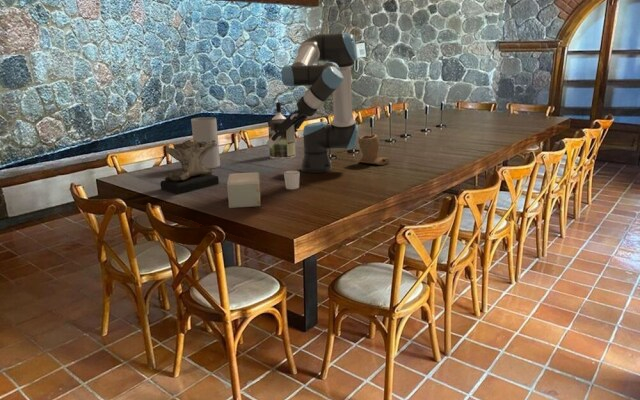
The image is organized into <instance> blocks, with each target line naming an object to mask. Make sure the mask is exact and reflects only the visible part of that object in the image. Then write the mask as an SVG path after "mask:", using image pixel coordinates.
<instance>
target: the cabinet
mask: <svg viewBox="0 0 640 400" xmlns="http://www.w3.org/2000/svg"><path fill="white" fill-rule="evenodd" d="M226 185H227V198H228V208H229V209H234V208H249V207H250V208H251V207H261V186H260V172H257V171H256V172H242V173H241V172H240V173H229V175H228V178H227V183H226Z"/></svg>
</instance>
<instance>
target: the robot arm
mask: <svg viewBox="0 0 640 400" xmlns="http://www.w3.org/2000/svg"><path fill="white" fill-rule="evenodd" d="M297 53H298V54H297V55H296V56H295V59H294V61H293V62H292V65H283V67H282V68H281V73H280V74H281V82H282V85H283V86H287V87H299V86H300V87H304V86H308V87H309V86H310V87H309V88H308V89H307V90H306V92H305V93H304V94H303V96H301V97H300V98H299V100H298V101H297V103H296V107H297V110H294V111H293V112H291V113H290V114H289V115H288V116H287V117H286V119H285V120H284V121H283V122H282V123H281V124H280V125H279V126H278V127H277V128H276V129H274V132H275V133H274V134H273V135H272V136H271V138H270V139H269V138H268V140H267V141H266V142H265V143H266V145H267V146H268V147H269V149H270V148H272V147H273V145H274V144H275V143H276V142H277V141H278V140H279V139H280V137H281V135H282V134H283V133H284V132H285V131H287V130H288V129H289V128H290V127H291V126H292V125H294V132H295V133H297V132H298V129H300V128H301V126H302V125H303V123H304V122H305V121H306V120H307V118H308V117H311V118H312V117H313V116H314V115H315V114H316V112H317V111H318V109H320V108H321V107H324V103H325V102H326V101H327V100H328V99H329V98H330V97H331V95H332V101H333V102H332V103H333V104H332V105H333V119H332V120H331V121H330V124H328V122H327V121H316V122H311V123H308V124H306V125H304V127H303V134H302V136H303V158H302V162H301V165H300V167H301V168H300V169H301V172H302V173H303V172H304V173H308V174H321V173H328V172H330V171H332V169H333V168H332V162H331V159H330V157H329V153H328V150H351V149H355V148H356V145H357V143H358V142H357V141H358V133H359V125H358V124H356V121H355V119H354V118H353V108H352V103H353V102H352V76H351V75H352V72H351V71H352V67H353V66H354V65H355V62H356V61H357V60H358V54H357V53H358V51H357V44H356V39H355V36H354V35H353V34H352V33H344V32H341V33H325V34H324V33H320V34H315V35H313V36H310V37H309V38H307V39H305V40H304V41H302V43H301V44H300V45H299V47H298V51H297ZM316 62H326V63H324V64H315V63H316ZM314 64H315V65H314Z"/></svg>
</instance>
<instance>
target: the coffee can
mask: <svg viewBox="0 0 640 400" xmlns="http://www.w3.org/2000/svg"><path fill="white" fill-rule="evenodd" d="M284 120H285V119H276V120H272V119H270V120H268V121H267V125H268V126H267V129H268V140H269V139H270V138H271V136H272V135H273V134H274V133H275V132H274V129H276V128H277V127H278V126H279V125H280V124H281V123H282V122H283V121H284ZM295 133H296V132H295V131H294V125H292V126H291V127H290V128H289V129H288V130H287V131H285V132H284V133H283V134H282V135H281V137H280V139H279V140H278V141H277V142H276V143H275V144H274V145H273V147H272V148H270V147H269V158H270V159H273V160H289V159H293V158H295V157H296V140H295V139H296V138H295V137H296V136H295V135H296V134H295Z"/></svg>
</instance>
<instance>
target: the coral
mask: <svg viewBox="0 0 640 400" xmlns="http://www.w3.org/2000/svg"><path fill="white" fill-rule="evenodd" d="M183 144H184V146H185V147H186V148H185V149H184V147H183ZM216 146H217V144H216V141H215V140H213V141H212V142H211V143H210V142H208V143H207V142H203V141H202V142H197V141H196V140H194V142H193V141H191V139H188V140H185V141H183V142H182V144H179V143H178V144H175V145H173V146H172V147H173V148H172V147H169V146H166V148H165V152H166V153H167V154H168V155H170V156H171V157H172V158H173V159H175V160H176V161H178V162H179V163H180V165H181V170H180V171H177V172H176V171H172V172H169V173H167V175H166V177H165V178H164V180H161V181H160V190H161V191H164V192H168V193H172V194H175V195H178V196H179V195H182V194H186V193H191V192H194V191H197V190H201V189H202V190H203V189H204V188H205V189H206V188H209V187H214V186H217V185H219V183H220V182H219V181H220V180H219V176H218V175H215V174H213V172H214V171H213V169H211V168H206V167H205V166H204V165H201V161H202V158H203V157H204V156H205V154H206V153H207V152H209V151H210V150H211V149H213V148H214V147H216Z"/></svg>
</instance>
